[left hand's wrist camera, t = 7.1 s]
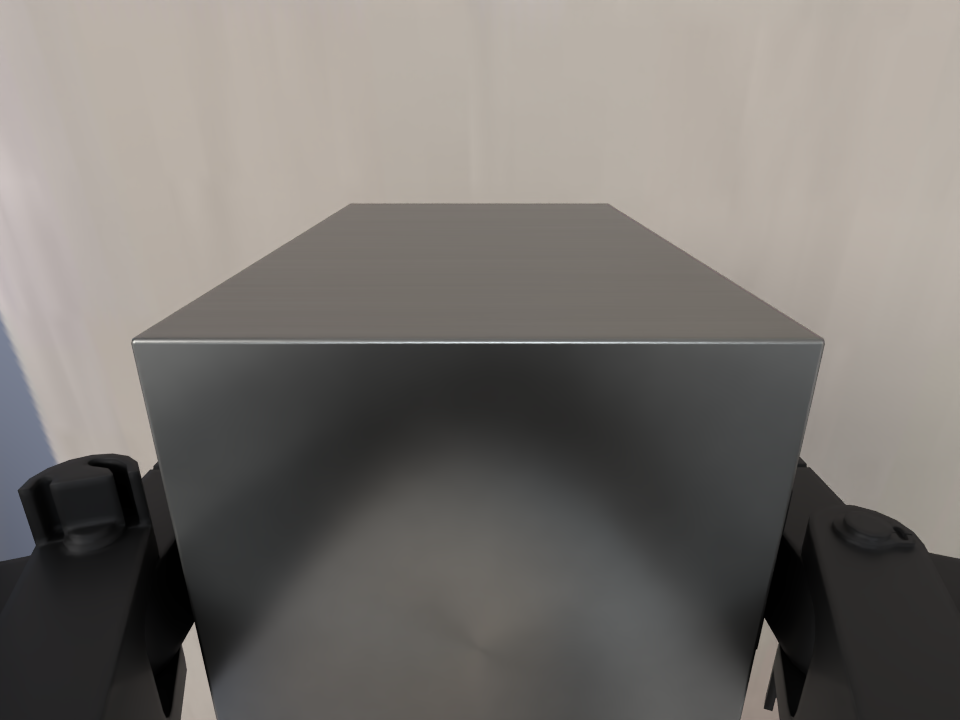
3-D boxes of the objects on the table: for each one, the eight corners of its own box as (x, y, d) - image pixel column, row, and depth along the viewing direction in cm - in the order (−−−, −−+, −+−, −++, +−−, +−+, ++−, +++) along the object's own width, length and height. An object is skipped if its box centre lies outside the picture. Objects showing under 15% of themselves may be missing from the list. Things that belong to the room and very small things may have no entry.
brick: (589, 467, 18) (711, 854, 8) (369, 467, 18) (245, 854, 8) (609, 203, 15) (828, 338, 6) (348, 203, 15) (126, 338, 6)
